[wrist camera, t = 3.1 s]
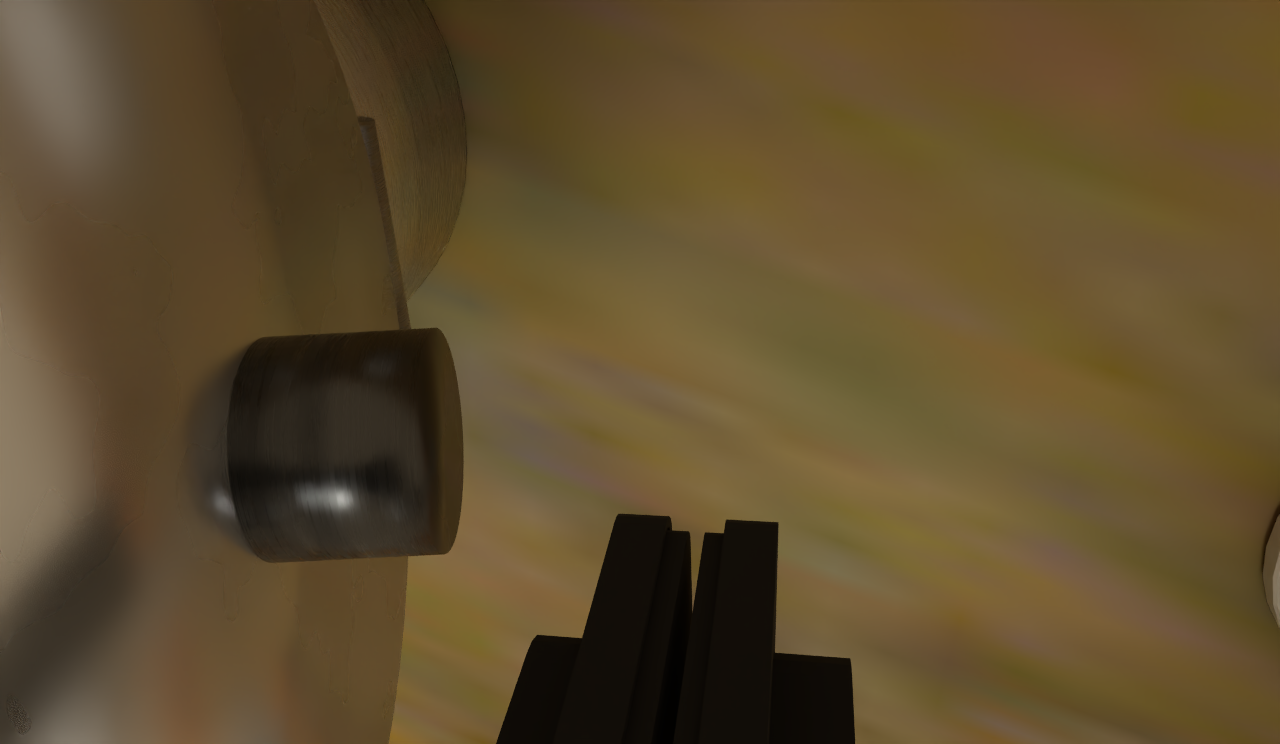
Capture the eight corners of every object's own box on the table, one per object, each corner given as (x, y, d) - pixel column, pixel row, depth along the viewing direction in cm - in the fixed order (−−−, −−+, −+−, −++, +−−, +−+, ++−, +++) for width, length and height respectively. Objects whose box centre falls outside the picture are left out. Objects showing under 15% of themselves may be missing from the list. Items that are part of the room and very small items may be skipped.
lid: (257, -184, 18) (454, -194, 18) (399, 522, 26) (538, 515, 26) (-1324, -229, 3) (-260, -287, 3) (109, 1457, 11) (434, 1440, 11)
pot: (380, -587, 23) (112, -836, 14) (501, 356, 34) (395, 537, 26) (-235, -511, 25) (-782, -681, 17) (71, 342, 37) (-156, 504, 28)
